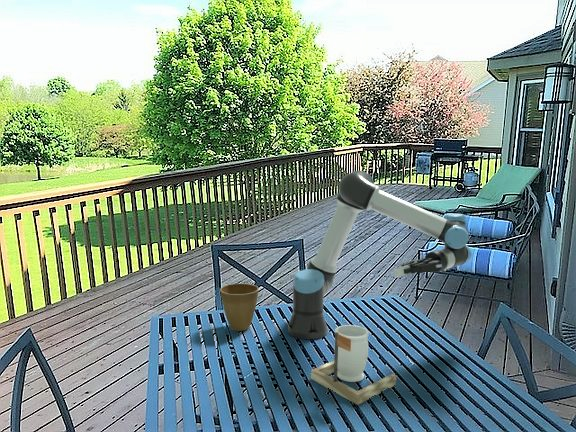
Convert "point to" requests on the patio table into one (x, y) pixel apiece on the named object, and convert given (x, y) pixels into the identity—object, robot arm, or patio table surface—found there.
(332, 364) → the box
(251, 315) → the plant pot
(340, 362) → the jar
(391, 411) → the patio table surface
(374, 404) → the patio table surface
